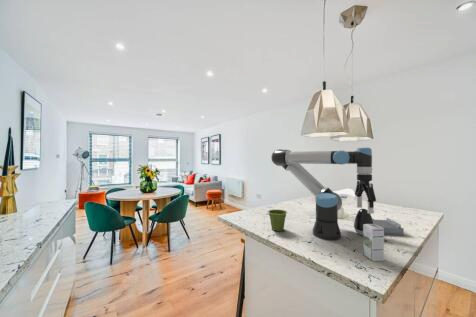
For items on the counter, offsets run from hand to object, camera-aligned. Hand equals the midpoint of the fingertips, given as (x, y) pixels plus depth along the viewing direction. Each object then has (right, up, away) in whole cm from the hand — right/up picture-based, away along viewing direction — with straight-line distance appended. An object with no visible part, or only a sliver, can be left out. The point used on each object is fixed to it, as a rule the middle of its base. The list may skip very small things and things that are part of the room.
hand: (364, 210), depth 115 cm
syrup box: (-14, -15, -27) cm, 34 cm away
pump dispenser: (0, -15, 0) cm, 15 cm away
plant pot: (-50, -15, +8) cm, 52 cm away
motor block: (+15, -14, +10) cm, 23 cm away
